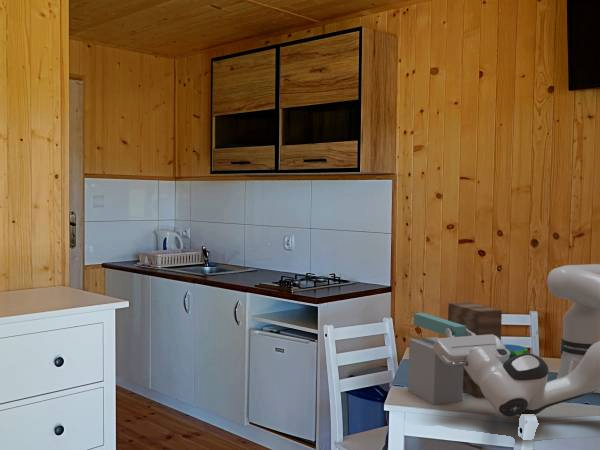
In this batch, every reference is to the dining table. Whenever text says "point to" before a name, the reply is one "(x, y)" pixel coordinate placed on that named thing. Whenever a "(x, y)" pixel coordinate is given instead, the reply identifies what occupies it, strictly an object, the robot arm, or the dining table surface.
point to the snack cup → (515, 350)
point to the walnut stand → (475, 330)
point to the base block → (433, 374)
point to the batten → (438, 324)
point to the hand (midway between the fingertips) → (455, 329)
